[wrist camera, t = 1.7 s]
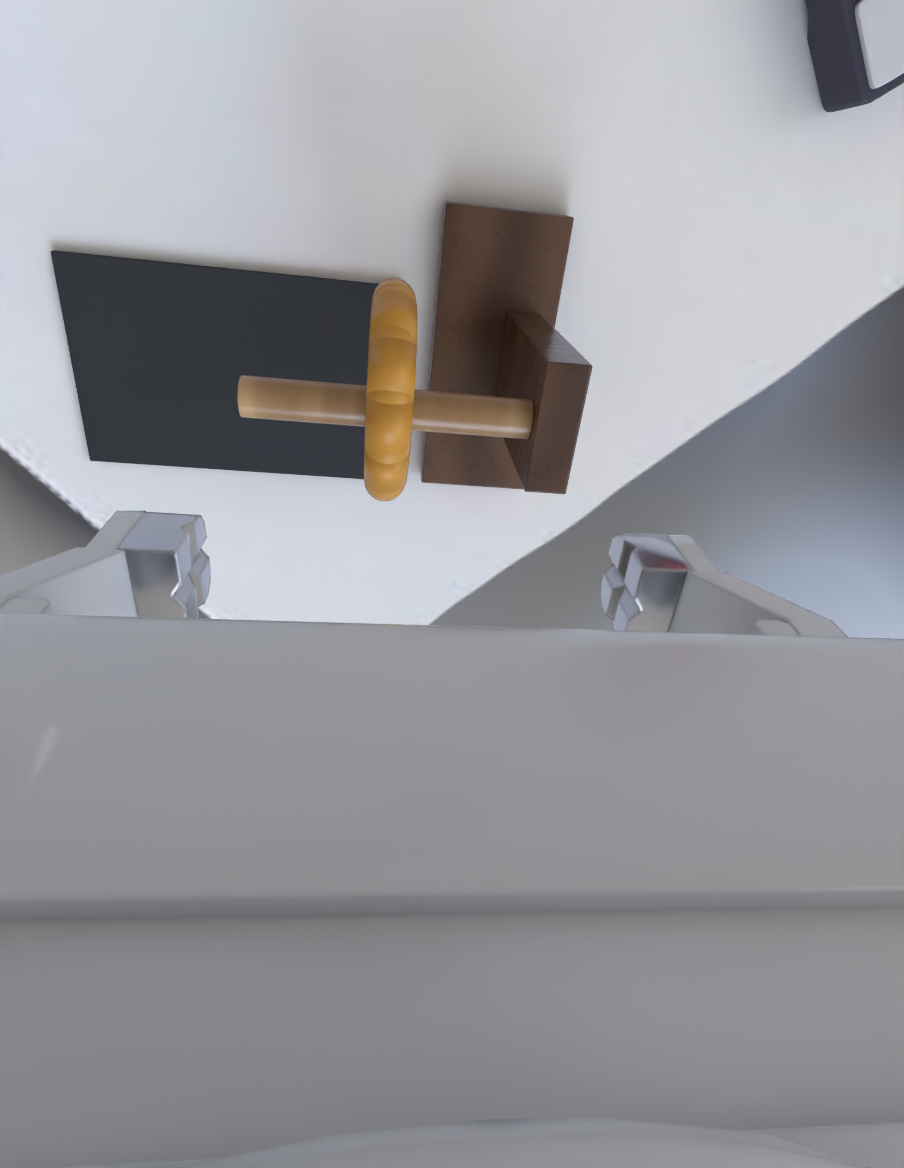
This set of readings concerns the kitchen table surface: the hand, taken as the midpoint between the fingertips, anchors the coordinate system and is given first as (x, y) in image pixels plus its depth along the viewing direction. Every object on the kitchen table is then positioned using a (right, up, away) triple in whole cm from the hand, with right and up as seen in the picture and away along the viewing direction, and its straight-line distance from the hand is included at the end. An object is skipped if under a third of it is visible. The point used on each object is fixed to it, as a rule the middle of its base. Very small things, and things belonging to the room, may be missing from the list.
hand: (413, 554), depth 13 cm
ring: (-2, +9, +19) cm, 20 cm away
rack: (-1, +14, +27) cm, 30 cm away
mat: (-12, +12, +27) cm, 32 cm away
